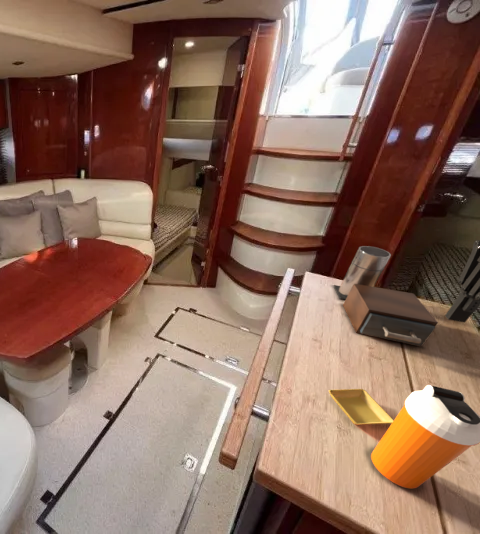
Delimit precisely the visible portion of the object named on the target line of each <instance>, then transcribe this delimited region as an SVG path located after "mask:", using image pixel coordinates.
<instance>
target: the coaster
mask: <svg viewBox="0 0 480 534" xmlns="http://www.w3.org/2000/svg"><path fill="white" fill-rule="evenodd" d="M340 286H341V285H335V284H334V285H333V288H334V290H335V293H336V295H337V297H338V299H339V300H342V301H345V300H346V298H347V297H344V296H343V295H341V294H340V293H339V291H338V290H339V288H340Z"/></svg>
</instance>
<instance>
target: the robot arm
mask: <svg viewBox="0 0 480 534" xmlns="http://www.w3.org/2000/svg"><path fill="white" fill-rule="evenodd" d="M472 245H473V246H472V251H471V253H470V255H469V256H468V259H467V261H466V264H465V265H464V267H463V269H462V272H461V274H460V276H459V277H458V280H457V284H458V285H461V287H460V291H461V292H460V293H459V294H458V296H457V297H456V298H455V299H454V302H453V303H452V304H451V306H450V308H449V309H448V310H447V312H446V313H445V315H444V317H445V318H446V319H447V320H448V321H454V322H459V323H466V322H467V321H468V320H469V319H470V317H471V316H472V314H473V313H474V312H476V311H477V309H478V308H479V306H480V240H479V239H478V240H477V239H476V240H474V241H473V244H472Z"/></svg>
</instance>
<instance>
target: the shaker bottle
mask: <svg viewBox="0 0 480 534" xmlns="http://www.w3.org/2000/svg"><path fill="white" fill-rule="evenodd" d="M465 398H466V397H465V395H464V394H463V393H462V392H460V391H457V390H453V389H449V388H444V387H440V386H436V385H431V384H427V385H426V386H425V387H424V388H423V389H422V390H413V391H412V392H411V393H410V394H409V395H408V396H407V398H406V399H404V402H403V406H402V408H401V409H400V411H399V412H398V414H397V415H396V416H395V418H394V419H393V420H394V421H393V422H392V424H389V425H390V426H389V427H388V429H387V430H386V431H385V433H384V434H383V435H382V437H381V439H380V440H379V441H378V443H377V444H376V446H375V447H374V449H373V450H372V452H371V454H370V459H371V462H372V464H373V465H374V467H375V469H376V470H377V471H378V472H379V473H380V474H381V475H382V476H383V477H385V478H386V479H387V480H389V481H390V482H392V484H395V485H398V486H399V487H401V488H405V489H417V488H419V487H420V486H421V485H422V484H424V483H425V482H427V481H428V480H429V479H431V478H432V477H433V476H435V475H436V474H437V473H438V472H440V471H441V470H443V469H444V468H445V467H446V466H447V465H449V464H450V463H452V462H453V461H454V460H455V459H457V458H458V457H460V456H461V455H462V454H463V453H465V452H466V451H467V450H468V449H470V448H472V447H474V446H477V445H479V444H480V415H479V414H478V413H477V412H476V411H475V410H473V408H472V407H471V406H470V405H469V404H468V403H467V402H466V399H465Z"/></svg>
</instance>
